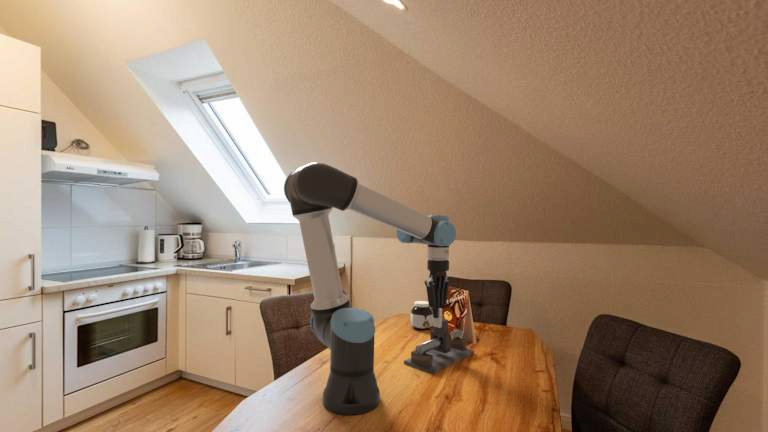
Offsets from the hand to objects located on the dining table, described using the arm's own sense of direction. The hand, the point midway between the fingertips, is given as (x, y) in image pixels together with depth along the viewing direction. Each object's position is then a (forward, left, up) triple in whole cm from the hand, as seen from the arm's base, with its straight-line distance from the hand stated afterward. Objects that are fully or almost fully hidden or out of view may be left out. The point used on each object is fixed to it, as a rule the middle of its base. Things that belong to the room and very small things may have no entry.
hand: (437, 326), depth 128 cm
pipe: (+2, 0, -7) cm, 8 cm away
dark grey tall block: (+2, 0, -9) cm, 9 cm away
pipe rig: (+2, 0, -12) cm, 12 cm away
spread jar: (+29, +27, -12) cm, 41 cm away
